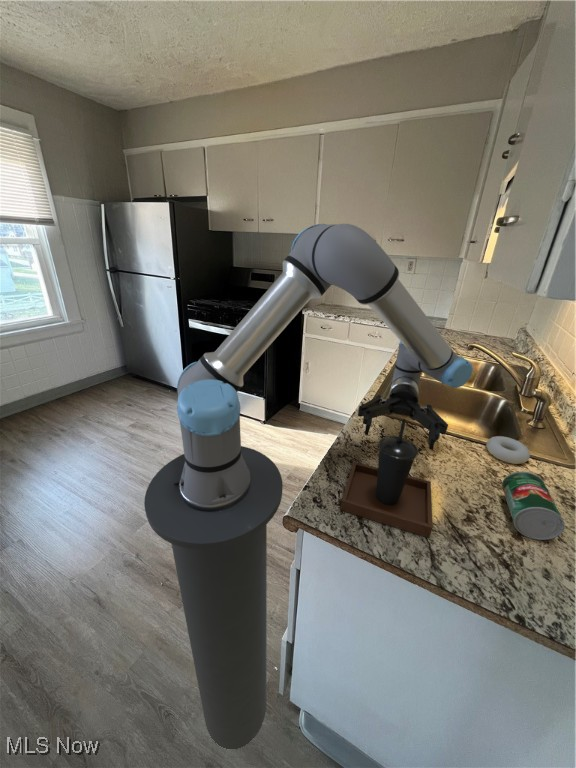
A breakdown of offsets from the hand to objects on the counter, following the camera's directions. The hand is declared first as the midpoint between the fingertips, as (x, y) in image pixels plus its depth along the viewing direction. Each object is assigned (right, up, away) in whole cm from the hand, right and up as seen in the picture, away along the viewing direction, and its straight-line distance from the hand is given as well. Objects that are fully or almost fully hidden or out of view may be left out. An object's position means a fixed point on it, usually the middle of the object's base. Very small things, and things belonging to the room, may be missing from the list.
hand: (398, 437), depth 68 cm
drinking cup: (-2, -14, +1) cm, 14 cm away
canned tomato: (+28, -11, +1) cm, 30 cm away
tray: (-2, -14, +1) cm, 14 cm away
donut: (+36, -8, +18) cm, 41 cm away
